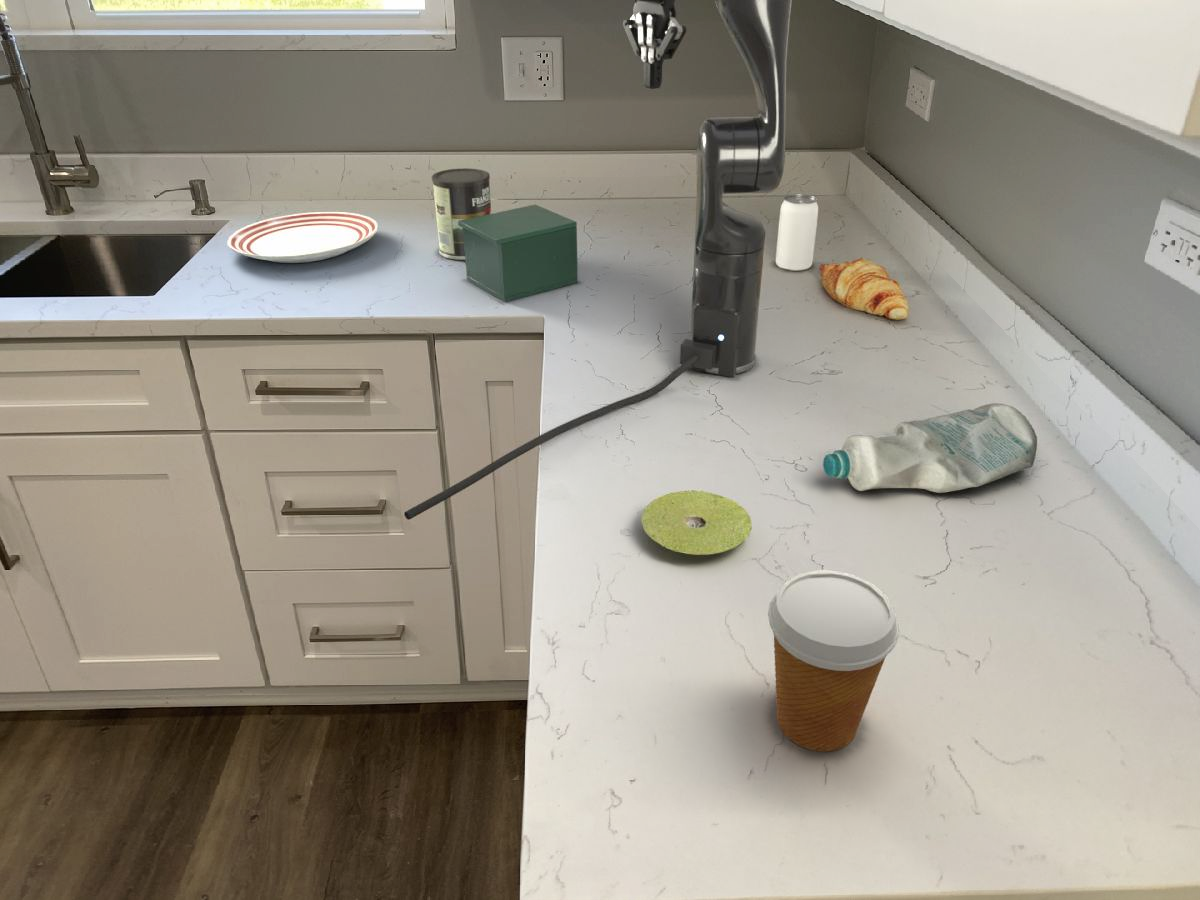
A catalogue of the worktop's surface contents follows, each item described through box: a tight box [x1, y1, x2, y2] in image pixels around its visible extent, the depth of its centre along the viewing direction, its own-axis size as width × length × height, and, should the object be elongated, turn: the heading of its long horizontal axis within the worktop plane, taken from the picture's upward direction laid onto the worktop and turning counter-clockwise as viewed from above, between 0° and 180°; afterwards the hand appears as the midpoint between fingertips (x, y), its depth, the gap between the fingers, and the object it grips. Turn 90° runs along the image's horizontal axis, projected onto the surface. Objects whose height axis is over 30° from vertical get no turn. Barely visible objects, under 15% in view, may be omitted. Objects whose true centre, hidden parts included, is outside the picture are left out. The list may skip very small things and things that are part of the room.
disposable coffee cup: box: [767, 569, 900, 752], centre depth 71 cm, size 10×10×12 cm
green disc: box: [641, 490, 752, 556], centre depth 95 cm, size 11×11×2 cm
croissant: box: [819, 257, 910, 320], centre depth 149 cm, size 21×10×8 cm, turn 26°
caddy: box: [463, 226, 579, 303], centre depth 156 cm, size 15×13×10 cm
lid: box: [458, 204, 578, 245], centre depth 153 cm, size 15×13×1 cm
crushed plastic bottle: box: [822, 402, 1038, 494], centre depth 103 cm, size 13×7×25 cm
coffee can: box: [431, 167, 492, 261], centre depth 169 cm, size 10×10×14 cm
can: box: [775, 193, 819, 272], centre depth 162 cm, size 6×6×12 cm
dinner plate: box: [226, 211, 379, 264], centre depth 174 cm, size 28×27×3 cm
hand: (652, 87), depth 145 cm, fingers closed
